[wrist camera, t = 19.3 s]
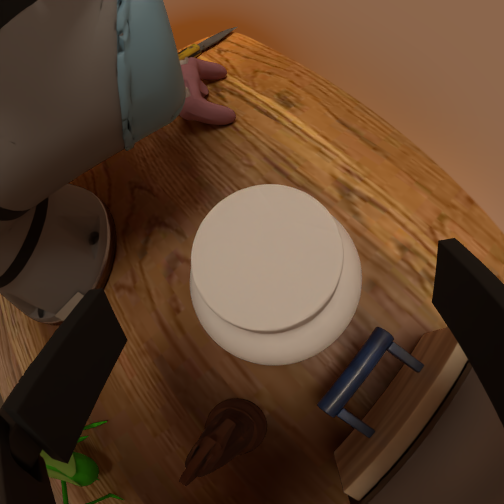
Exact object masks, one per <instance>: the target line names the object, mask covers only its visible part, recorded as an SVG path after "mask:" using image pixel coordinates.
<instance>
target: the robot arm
mask: <svg viewBox="0 0 504 504" xmlns="http://www.w3.org/2000/svg"><path fill="white" fill-rule="evenodd" d="M185 97H186V90H185V84H184V78H183V74H182V69H181V65H180V61H179V57H178V53H177V49H176V45H175V41H174V38H173V33H172V30H171V27H170V23H169V20H168V16H167V12H166V9H165V6H164V2H163V0H0V293H1V294H2V295H3V296H4V297H5V298H6V299H7V300H9V301H10V302H11V303H12V304H13V305H15V306H16V307H17V308H18V309H19V310H21V311H22V312H23V313H24V314H26V315H27V316H29V317H30V318H32V319H34V320H36V321H38V322H42V323H46V324H50V325H60V326H59V328H58V329H57V330H56V332H55V333H54V334H53V335H52V337H51V338H50V339H49V341H48V342H47V343H46V345H45V346H44V347H43V349H42V350H41V352H40V353H39V354H38V356H37V357H36V358H35V360H34V361H33V362H32V363H31V364H30V366H29V367H28V368H27V370H26V371H25V373H24V375H23V376H22V377H21V378H20V380H19V381H18V382H19V383H17V384H16V386H15V387H14V389H13V390H12V392H11V393H10V395H9V396H8V398H7V399H6V401H5V403H4V404H3V406H2V407H1V409H0V504H56V502H55V499H54V495H53V492H52V488H51V484H50V480H49V476H48V472H47V468H46V463H45V461H44V458H43V457H42V456H41V455H40V453H41V451H42V450H43V451H44V452H45V453H47V454H48V455H49V456H50V457H51V458H52V459H54V460H57V461H60V462H63V463H66V464H68V463H69V460H70V458H71V456H72V453H73V451H74V449H75V447H76V444H77V442H78V440H79V438H80V435H81V433H82V431H83V429H84V427H85V424H86V422H87V420H88V418H89V416H90V414H91V412H92V409H93V407H94V405H95V403H96V401H97V399H98V397H99V395H100V393H101V391H102V389H103V387H104V385H105V383H106V381H107V379H108V377H109V375H110V373H111V371H112V369H113V367H114V365H115V363H116V361H117V359H118V357H119V355H120V353H121V351H122V349H123V348H124V346H125V344H126V342H127V338H126V336H125V334H124V332H123V330H122V328H121V326H120V324H119V322H118V320H117V318H116V316H115V314H114V312H113V310H112V307H111V305H110V303H109V301H108V299H107V296H106V294H105V292H104V290H103V288H104V286H105V284H106V282H107V279H108V277H109V274H110V271H111V268H112V264H113V260H114V255H115V247H116V231H115V225H114V221H113V217H112V215H111V213H110V211H109V209H108V207H107V206H106V205H105V203H104V202H103V201H101V200H100V199H99V198H98V197H97V196H96V195H94V194H93V193H92V192H90V191H88V190H86V189H84V188H81V187H78V186H75V185H71V184H67V183H69V182H70V181H72V180H74V179H75V178H77V177H78V176H80V175H81V174H83V173H84V172H86V171H88V170H89V169H91V168H92V167H94V166H96V165H97V164H99V163H101V162H102V161H104V160H106V159H107V158H109V157H111V156H112V155H114V154H116V153H118V152H119V151H121V150H123V149H125V150H126V151H128V150H130V149H132V148H133V147H134V144H135V143H136V142H138V141H139V140H141V139H143V138H144V137H146V136H148V135H150V134H151V133H153V132H155V131H157V130H158V129H160V128H162V127H164V126H166V125H167V124H169V123H171V122H172V121H173V120H174V119H176V117H177V116H178V115H179V114H180V112H181V111H182V108H183V106H184V103H185ZM432 303H433V305H434V306H435V307H436V309H437V311H438V312H439V314H440V315H441V317H442V318H443V320H444V321H445V323H446V324H447V326H448V327H449V329H450V331H451V332H452V334H453V335H454V337H455V339H456V340H457V342H458V344H459V345H460V347H461V349H462V350H463V352H464V354H465V355H466V357H467V359H468V360H469V362H470V364H471V366H472V367H473V369H474V371H475V373H476V374H477V376H478V378H479V380H480V382H481V384H482V385H483V387H484V389H485V391H486V393H487V395H488V397H489V399H490V401H491V403H492V405H493V407H494V409H495V411H496V413H497V415H498V417H499V419H500V421H501V423H502V425H503V427H504V284H503V283H502V282H501V281H500V280H499V279H498V278H497V277H496V276H495V275H494V274H493V273H492V272H491V271H490V270H489V269H488V268H487V267H486V266H485V265H484V264H483V263H482V262H481V261H480V260H478V259H477V258H476V257H475V256H474V255H473V254H472V253H471V252H470V251H469V250H468V249H467V248H465V247H464V246H463V245H462V244H461V243H460V242H459V241H458V240H456V239H455V238H452V239H446V240H440V241H438V253H437V264H436V274H435V282H434V290H433V297H432Z"/></svg>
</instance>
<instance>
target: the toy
mask: <svg viewBox="0 0 504 504" xmlns="http://www.w3.org/2000/svg"><path fill="white" fill-rule="evenodd" d="M106 422H107V421H102V422H97V423H92V424H91V425H87V426H85V427H84V429H83V430H86V429H89V428H94V427H96V426H99V425H101V424H103V423H106ZM87 437H88V436H84V437H80V438H79V440H78V442H81V441H83V440H84V439H86V438H87ZM78 442H77V443H78ZM40 455H41V456H42V457H43V458H44V461H45V463H46V468H47V472H48V476H49V477H52V478H55V479H59V480H61V484H62V494H63V503H64V504H69V503H68V495H67V486H66V482H69V483H71V484H74V485H77V486H80V487H82V486H87V485H90V484H92V483H93V482H94V481H95V480H99V479H97V477H98V474H99V468H98V466H97V464H96V463H95V461H94V460H92V459H91V458H89V457H87V456H86V455H84V454H81V453H77V452H73V453H72V456H71V458H70V460H69V463H68V464H66V463H63V462H60V461H57V460H54V459H52V458H51V457H50V456H49V455H48V454H47V453H45V452H44V451H43V450H42V451H41V453H40ZM109 497H113V498H117V499H121V500H124V499H122V498H120V497H118V496H116V495H114V494H111V493H110V494H108V495H106V496H103V497H101V498H99V499H97V500H94V501H92V502H89V503H86V504H95V503H97V502H99V501H102V500H104V499H106V498H109Z"/></svg>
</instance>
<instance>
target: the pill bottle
mask: <svg viewBox="0 0 504 504" xmlns="http://www.w3.org/2000/svg"><path fill="white" fill-rule="evenodd" d="M361 288H362V270H361V263H360V259H359V255H358V252H357V249H356V247H355V245H354V243H353V241H352V239H351V237H350V236H349V234H348V232H347V231H346V230H345V228H344V227H343V226H342V225H341V224H340V222H339V221H338V220H337V219H336V218H335V217H333V216H332V215H331V214H330V213H329V212H328V210H327V209H326V208H325V207H324V206H323V205H322V204H321V203H320V202H319V201H317V200H316V199H315V198H313V197H312V196H310V195H309V194H307V193H305V192H303V191H301V190H298V189H295V188H292V187H289V186H284V185H277V184H265V185H256V186H252V187H248V188H245V189H242V190H239V191H237V192H235V193H233V194H231V195H229V196H228V197H226V198H224V199H223V200H222V201H220V202H219V203H218V204H217V205H216V206H215V207H214V208H213V209H212V210H211V211H210V212H209V213H208V214H207V216H206V217H205V218H204V220H203V221H202V223H201V224H200V227H199V229H198V231H197V233H196V236H195V239H194V242H193V247H192V253H191V272H190V292H191V299H192V303H193V306H194V309H195V312H196V315H197V317H198V319H199V321H200V323H201V324H202V326H203V327H204V329H205V330H206V332H207V333H208V334H209V336H210V337H211V338H212V339H213V340H214V341H215V342H216V343H217V344H218V345H219V346H221V347H222V348H223V349H225V350H226V351H227V352H229V353H231V354H232V355H234V356H236V357H238V358H240V359H243V360H246V361H249V362H252V363H256V364H262V365H287V364H293V363H297V362H301V361H303V360H306V359H309V358H311V357H313V356H315V355H316V354H318V353H320V352H322V351H323V350H324V349H326V348H327V347H328V346H330V345H331V344H332V343H333V342H334V341H335V340H336V339H337V338H338V337H339V336H340V335H341V334H342V333H343V332H344V330H345V329H346V328H347V326H348V325H349V323H350V321H351V319H352V317H353V316H354V314H355V311H356V309H357V306H358V303H359V299H360V294H361Z"/></svg>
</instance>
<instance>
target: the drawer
mask: <svg viewBox="0 0 504 504" xmlns="http://www.w3.org/2000/svg"><path fill="white" fill-rule="evenodd" d="M393 340H394V338H393V336H392V335H391V334H390V333H389V332H387V331H386V330H384V329H382V328H380V327H376V328H375V330H374V331H373V332H372V334H371V335H370V337H369V338H368V340H367V341H366V342H365V344H364V345H363V346H362V348H361V349H360V351H359V352H358V353H357V355H356V356H355V357H354V359H353V360H352V361H351V363H350V364H349V365H348V366H347V368H346V369H345V370H344V372H343V373H342V374H341V375H340V377H339V378H338V379H337V381H336V382H335V383H334V384H333V385H332V387H331V388H330V389H329V390H328V392H327V393H326V394H325V395H324V396H323V398H322V399H321V400H320V401H319V402H318V404H317V405H318V407H319V408H320V409H322V410H323V411H324V412H325V413H327V414H328V415H330V416H332V417H335V416H336V415H337V416H338V417H339V418H341V419H342V420H343V421H345V422H346V423H348V424H349V425H351V426H352V427H353V428H355V429H354V430H353V431H352V432H351V434H350V435H349V436H348V437H347V438H346V439H345V440H344V442H343V443H342V444H341V445H340V446H339V447H338V448H337V449H336V450H335V451H334V456H335V460H336V464H337V468H338V472H339V476H340V480H341V484H342V487H343V491H344V493H346V494H347V495H349V496H351V497H352V498H354V499H356V500H358V501H360V500H361V499H362V498H363V497H364V496H365V495H366V494H367V493H368V492H369V491H370V490H371V489H372V488H373V487H374V486H375V485H376V486H377V485H378V484H379V483H380V482H381V481H382V480H383V479H384V478H385V477H386V476H387V475H388V474H389V472H390V471H391V470H392V469H393V468H394V467H395V466H396V465H397V463H398V462H399V461H400V460H401V459H402V458H403V456H404V455H405V454H406V453H407V452H408V450H409V449H410V448H411V447H412V445H413V444H414V443H415V442H416V440H417V439H418V438H419V437H420V435H421V434H422V433H423V431H424V430H425V429H426V427H427V426H428V425H429V423H430V422H431V421H432V419H433V418H434V416H435V415H436V414H437V412H438V411H439V409H440V408H441V406H442V405H443V403H444V402H445V400H446V399H447V397H448V396H449V394H450V393H451V391H452V389H453V388H454V386H455V385H456V383H457V381H458V380H459V378H460V376H461V375H462V373H463V371H464V370H465V368H466V366H467V364H468V363H469V360H468V359H467V357H466V355H465V354H464V352H463V350H462V349H461V347H460V345H459V344H458V342H457V340H456V339H455V337H454V335H453V334H452V332H451V331H450V329H449V327H446V328H443V329H439V330H435V331H432V332H428V333H424V334H423V336H422V337H421V339H420V341H419V342H418V344H417V345H416V347H415V348H414V350H413V352H412V353H411V354H409V353H408V352H407V351H405V350H404V349H403V348H401V347H400V346H398V345H397V344H396V343H394V342H392V341H393ZM386 350H387V351H388V352H389V353H391V354H392V355H393V356H395V357H396V358H397V359H399V360H400V361H401V362H403V363H404V365H403V366H402V368H401V369H400V371H399V372H398V374H397V375H396V376H395V378H394V379H393V381H392V382H391V383H390V385H389V386H388V387H387V389H386V390H385V392H384V393H383V394H382V395H381V397H380V398H379V399H378V401H377V402H376V403H375V405H374V406H373V407H372V408H371V410H370V411H369V412H368V413H367V415H366V416H365V417H364V418H363V419H362V421H361V420H360V419H359V418H357V417H356V416H354V415H353V414H351V413H350V412H349V411H347V410H346V409H345V408H343V407H344V406H345V404H346V403H347V402H348V401H349V399H350V398H351V397H352V396H353V394H354V393H355V392H356V391H357V389H358V388H359V387H360V386H361V384H362V383H363V382H364V380H365V379H366V378H367V376H368V375H369V374H370V372H371V371H372V370H373V368H374V367H375V366H376V364H377V363H378V361H379V360H380V359H381V357H382V356H383V354H384V353H385V352H386Z"/></svg>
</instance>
